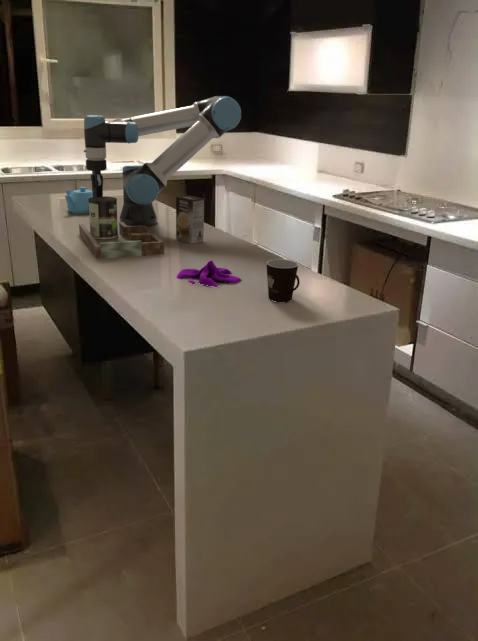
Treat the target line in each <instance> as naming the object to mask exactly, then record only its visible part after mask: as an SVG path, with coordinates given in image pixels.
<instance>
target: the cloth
mask: <svg viewBox="0 0 478 641" xmlns="http://www.w3.org/2000/svg"><path fill="white" fill-rule="evenodd" d="M230 274H231V275H230ZM187 278H192V279H188V280H187V282H188V283H189V282H190V283H192V284H191V285H193V284H195V283H196V281H195V280H198V281H199V282H198V284H199V283H200V284H199V285H201V284H204V285H203V286H205V285H208V286H214V287H217V286H219V284H217V282H214V281H219V283H225V282H226V284H229V283H231V284H230V285H236V284H238V283H240V282H242V278H240V277H238V276H234V275H233V273H232V271H231V270H230V269H228V268H226V267H217V265H216V264H215V263H214V260H212V259H210V260H208V261H207V263H206V264H205V265H204V266H203V267H201V268H200V269H197V268H184V269H181V270H180V271H179V272H178V274H177V275H176V279H177V280H182V279H187ZM194 281H195V282H194ZM237 282H238V283H237ZM190 283H189V284H190ZM195 285H196V284H195ZM208 286H207V287H208ZM214 287H213V288H214ZM217 288H218V287H217Z"/></svg>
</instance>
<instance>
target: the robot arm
mask: <svg viewBox="0 0 478 641" xmlns="http://www.w3.org/2000/svg"><path fill="white" fill-rule="evenodd" d="M241 119H242V109H241V106H240V104H239V102H238V101H237V100H236V99H234V98H233V97H232V96H228V95H215V96H212V97H208V98H206V99H203V100H198V101H195V102H193V104H192V105H187V106H183V107H179V108H178V107H177V108H172V109H167V110H161V111H156V112H151V113H146V114H142V115H135V116H131V117H126V118H116V119H114V120H113V121H107V120H106V117H105V115H96V114H91V115H90V114H88V115H85V116H84V118H83V131H84V132H83V133H84V150H83V152H84V153H85V158H86V159H85V169H86V171H91V174H90V180H91V190H92V194H93V197H104V192H103V190H104V188H103V186H104V176H103V174H102V171H106V170H107V166H108V165H107V160H106V159H107V147H106V146H107V145H106V144H107V143H109V144H111V143H115V144H136V143H137V142H139V137H141V136H147V135H151V134H157V133H163V132H168V131H173V130H178V129H184V128H188V129H187V130H186V131H185V132H184V133H182V134H181V135H180V136H179V137H178V138H177V139H176V140H174V142H173V143H171V145H169V146H168V147H167V148H166V149H165V150H164V151H163V152H162V153H160V155H159V156H157V157H156V158H155V159H154V160H153V161H152V162H145V163H144V164H142V165H124V166H123V167H122V172H121V174H122V191H123V192H122V194H123V205H122V208H121V213H120V215H119V222H124V223H125V224H126V225H127V226H139V225H145V226H146V227H147V226H153V225H156V224H157V223H158V216H157V213H156V210H155V208H154V204H153V202H154V201H155V200H156V199H157V198H158V196H159V194H160V192H161V191H162V190H164V189H165V188H166V187H167V182H168V180H169V179H170V178H171V177H172V176H174V175H175V173H176V172H177V171H179V170H180V169H181V168H183V166H184V165H185V164H186V163H187V162H189V161H190V160H191V159H192V158H193V157H194V156H195V155H197V153H199V151H200V150H202V149H203V148H204V147H205V146H206V145H207V144H208V143H210V142H211V140H213V139H220V138H221V137H222V136H223V135H225V133H227V132H228V131H230V130H233V129H235V128H236V127H237V126H238V125H239V123H240V121H241Z"/></svg>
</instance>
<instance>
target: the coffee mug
mask: <svg viewBox="0 0 478 641" xmlns="http://www.w3.org/2000/svg"><path fill="white" fill-rule="evenodd" d="M265 264H266V279H267V293H268V294H267V295H268V296H267V297H268V300H269V299H270V301H271V300H273V301H276V302H275V303H279V302H285V303H289V302H288V301H290V300H291V301H292V300H293V296H294V295H293V294H294V292H295V291H296V290H297V289H298V288H299V286H300V278H299V275H297V272H298V267H299V263H298V262H297V261H294V260H290V259H281V258H279V259H270V260H267V261H266V263H265ZM296 281H297V283H296ZM295 283H296V284H295ZM295 285H296V286H295ZM273 301H272V302H273ZM291 301H290V302H291Z"/></svg>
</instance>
